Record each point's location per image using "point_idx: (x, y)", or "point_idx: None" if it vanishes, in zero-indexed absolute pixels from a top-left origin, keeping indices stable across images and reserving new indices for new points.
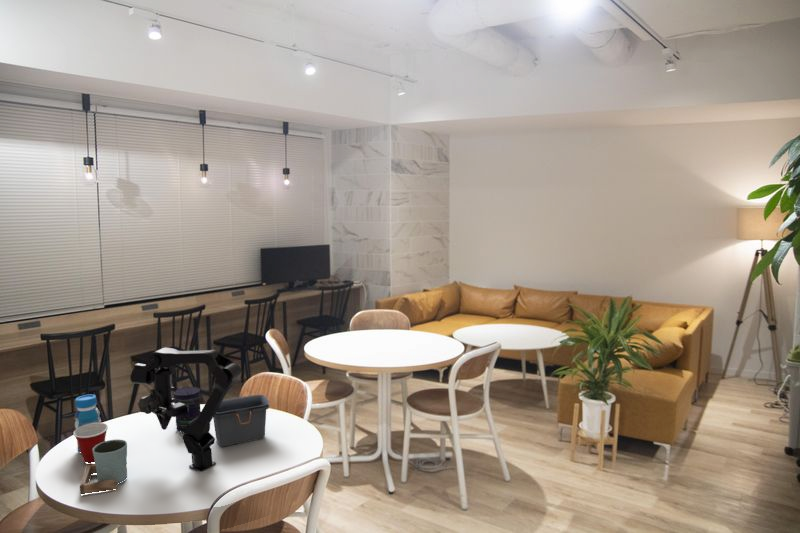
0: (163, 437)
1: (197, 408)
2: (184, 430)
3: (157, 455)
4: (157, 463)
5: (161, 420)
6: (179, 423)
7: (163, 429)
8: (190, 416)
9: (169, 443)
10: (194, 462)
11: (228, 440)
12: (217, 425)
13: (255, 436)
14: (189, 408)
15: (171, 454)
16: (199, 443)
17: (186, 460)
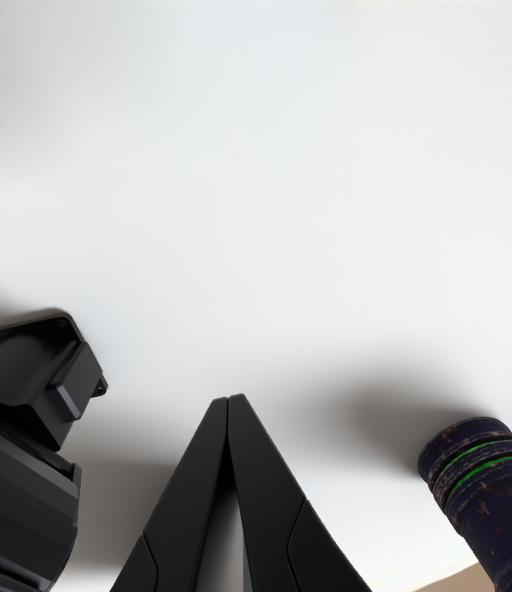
0: (485, 360)
1: (483, 566)
2: (449, 434)
3: (346, 265)
4: (254, 221)
5: (243, 529)
6: (493, 450)
7: (217, 399)
8: (473, 510)
9: (410, 354)
10: (10, 346)
11: None
12: None
13: None
14: (510, 558)
15: (296, 315)
16: (43, 461)
17: (169, 336)
